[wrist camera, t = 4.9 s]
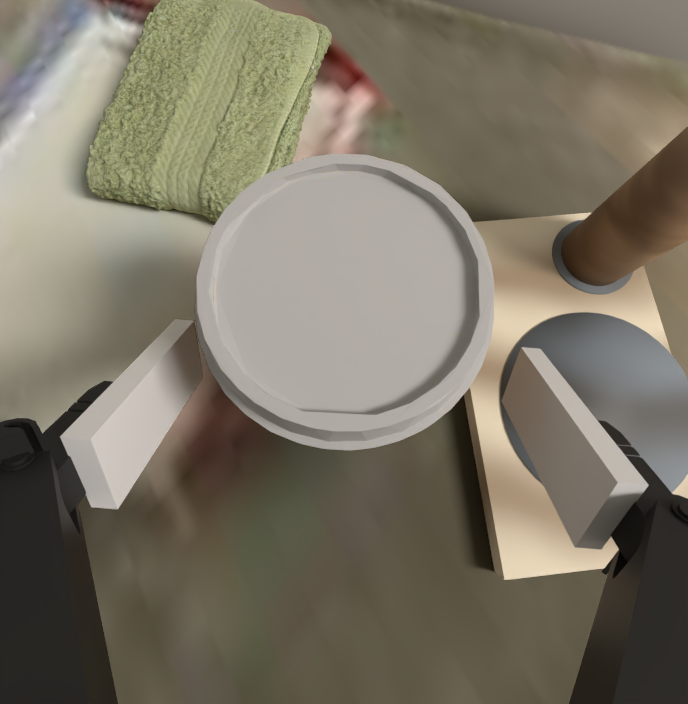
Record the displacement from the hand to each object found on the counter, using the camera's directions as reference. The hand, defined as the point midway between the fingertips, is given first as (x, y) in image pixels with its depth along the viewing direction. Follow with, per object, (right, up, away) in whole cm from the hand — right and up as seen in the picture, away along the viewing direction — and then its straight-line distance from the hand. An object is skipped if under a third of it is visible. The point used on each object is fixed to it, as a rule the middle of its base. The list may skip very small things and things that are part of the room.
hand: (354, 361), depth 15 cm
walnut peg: (+15, +6, +7) cm, 18 cm away
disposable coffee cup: (-1, 0, +7) cm, 7 cm away
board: (+13, -1, +7) cm, 14 cm away
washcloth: (-9, +17, +12) cm, 23 cm away
